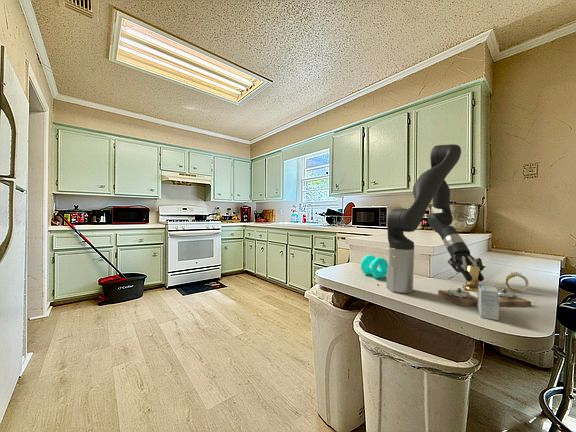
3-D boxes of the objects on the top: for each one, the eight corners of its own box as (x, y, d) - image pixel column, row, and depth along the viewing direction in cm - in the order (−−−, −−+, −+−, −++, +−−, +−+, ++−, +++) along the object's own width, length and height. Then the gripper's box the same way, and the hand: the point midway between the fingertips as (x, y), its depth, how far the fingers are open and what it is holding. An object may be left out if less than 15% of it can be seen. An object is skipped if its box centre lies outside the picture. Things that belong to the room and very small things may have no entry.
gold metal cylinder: (469, 292, 100) (470, 267, 99) (458, 287, 106) (459, 264, 106) (485, 292, 100) (486, 267, 100) (473, 287, 106) (474, 264, 106)
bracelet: (505, 291, 102) (506, 271, 102) (504, 289, 105) (505, 270, 104) (529, 294, 98) (529, 274, 98) (527, 292, 101) (527, 272, 101)
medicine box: (498, 321, 74) (499, 292, 74) (479, 317, 76) (480, 289, 76) (494, 312, 81) (495, 285, 80) (477, 309, 83) (477, 283, 83)
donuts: (374, 273, 129) (374, 253, 129) (389, 277, 120) (389, 257, 120) (359, 274, 125) (359, 255, 125) (373, 280, 116) (373, 258, 116)
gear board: (460, 306, 85) (460, 300, 85) (438, 294, 97) (438, 289, 97) (530, 305, 86) (531, 300, 86) (500, 294, 98) (500, 289, 98)
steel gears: (456, 298, 88) (456, 291, 88) (443, 292, 95) (443, 285, 95) (522, 298, 89) (522, 291, 89) (505, 292, 95) (505, 285, 95)
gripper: (444, 241, 110) (464, 275, 98) (476, 241, 110) (499, 275, 98) (436, 251, 115) (454, 285, 103) (466, 251, 115) (487, 285, 104)
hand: (476, 280), depth 101 cm, fingers closed on gold metal cylinder, 4 cm apart
